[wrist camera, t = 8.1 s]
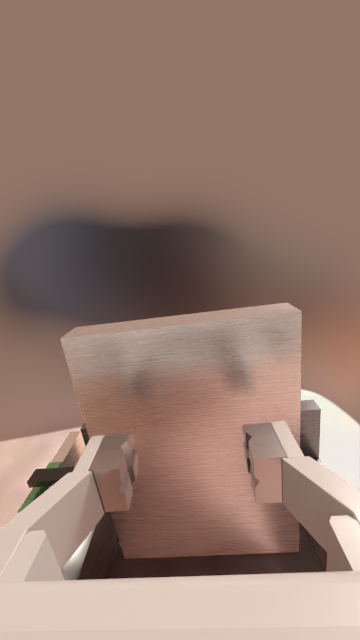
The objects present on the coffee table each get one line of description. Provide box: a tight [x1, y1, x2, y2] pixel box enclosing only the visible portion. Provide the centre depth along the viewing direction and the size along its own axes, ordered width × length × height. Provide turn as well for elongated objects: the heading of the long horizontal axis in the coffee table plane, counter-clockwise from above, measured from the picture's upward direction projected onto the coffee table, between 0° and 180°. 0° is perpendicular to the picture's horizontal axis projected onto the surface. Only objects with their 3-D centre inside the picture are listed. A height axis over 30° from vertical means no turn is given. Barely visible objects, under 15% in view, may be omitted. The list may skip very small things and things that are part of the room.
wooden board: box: [27, 303, 301, 559], centre depth 13 cm, size 14×2×14 cm, turn 88°
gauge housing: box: [18, 400, 327, 580], centre depth 13 cm, size 18×12×8 cm
